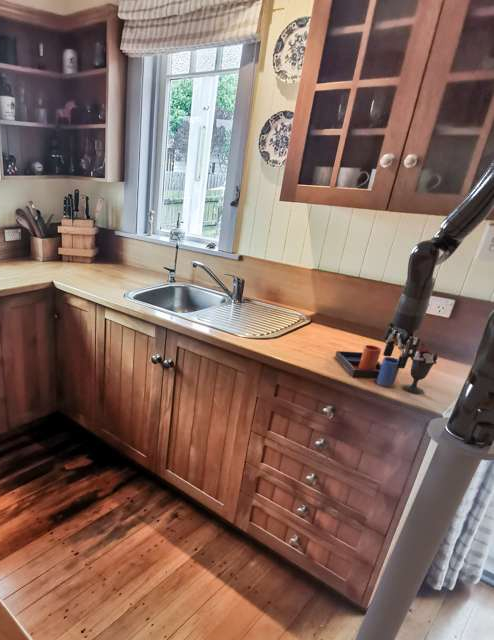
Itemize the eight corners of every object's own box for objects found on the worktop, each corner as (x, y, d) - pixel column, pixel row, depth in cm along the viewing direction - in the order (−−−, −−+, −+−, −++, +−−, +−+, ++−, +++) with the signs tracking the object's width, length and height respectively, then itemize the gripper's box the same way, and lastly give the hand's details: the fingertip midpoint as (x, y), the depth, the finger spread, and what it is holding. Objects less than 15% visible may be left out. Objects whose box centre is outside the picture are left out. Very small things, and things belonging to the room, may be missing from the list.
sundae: (396, 388, 141) (412, 342, 135) (406, 382, 145) (422, 338, 138) (419, 397, 137) (437, 350, 130) (428, 391, 140) (446, 345, 134)
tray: (387, 379, 147) (389, 371, 146) (352, 377, 147) (354, 369, 146) (366, 359, 160) (368, 352, 159) (334, 357, 160) (336, 350, 159)
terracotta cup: (376, 374, 148) (384, 351, 144) (361, 373, 148) (368, 350, 144) (370, 368, 152) (377, 345, 148) (355, 367, 152) (362, 344, 149)
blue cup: (396, 387, 141) (404, 364, 138) (380, 386, 142) (388, 363, 138) (388, 380, 146) (396, 357, 142) (373, 379, 146) (380, 356, 142)
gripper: (437, 320, 127) (417, 373, 134) (411, 303, 140) (394, 352, 147) (409, 318, 127) (391, 371, 134) (386, 302, 140) (370, 351, 147)
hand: (393, 361), depth 141 cm, fingers open, 8 cm apart
